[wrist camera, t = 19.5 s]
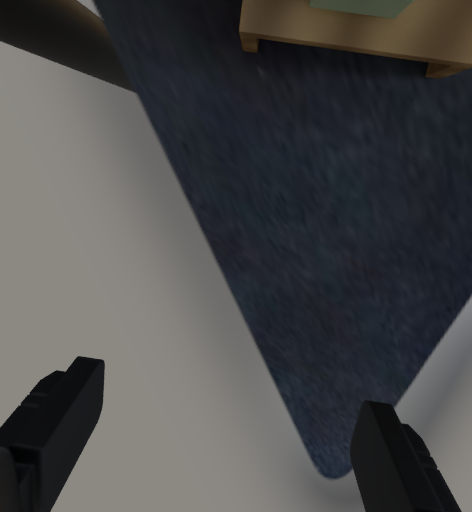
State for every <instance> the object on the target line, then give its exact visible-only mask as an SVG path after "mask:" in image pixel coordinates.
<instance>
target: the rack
mask: <svg viewBox="0 0 472 512" xmlns="http://www.w3.org/2000/svg"><path fill="white" fill-rule="evenodd" d="M239 34H240V39H241V44H242V48H243V51H246V52H253V53H257V52H258V45H259V39H266V40H273V41H280V42H288V43H295V44H302V45H309V46H316V47H323V48H330V49H337V50H344V51H351V52H358V53H365V54H372V55H379V56H386V57H393V58H401V59H408V60H415V61H422V62H429V64H428V68H427V72H426V76H425V77H429V78H436V79H440V78H443V77H446V76H449V75H452V74H455V73H458V72H460V71H463V70H466V69H469V68H472V0H414V1H413V2H412V3H411V4H410V5H409V6H408V7H406V8H405V9H404V10H403V11H402V12H401V13H400V14H399V15H398V16H397V17H396V18H394V19H392V18H385V17H378V16H371V15H363V14H356V13H349V12H342V11H335V10H328V9H320V8H313V7H309V0H243V2H242V9H241V17H240V25H239Z"/></svg>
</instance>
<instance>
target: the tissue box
mask: <svg viewBox="0 0 472 512" xmlns="http://www.w3.org/2000/svg"><path fill="white" fill-rule="evenodd" d="M413 1H414V0H309V7H313V8H320V9H328V10H335V11H342V12H349V13H356V14H363V15H371V16H378V17H385V18H392V19H394V18H396V17H397V16H398V15H399V14H400V13H401V12H402V11H403V10H404V9H405V8H406V7H408V6H409V5H410V4H411V3H412V2H413Z"/></svg>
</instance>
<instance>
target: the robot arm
mask: <svg viewBox="0 0 472 512" xmlns="http://www.w3.org/2000/svg"><path fill="white" fill-rule="evenodd" d="M104 369H105V364H104V361H103V360H101V359H94V358H87V357H81V356H78V357H77V358H76V359H75V360H74V362H73V363H72V364H71V365H70V367H69V368H68V369H67V371H66V372H64V371H57V370H56V371H54V372H53V373H51V374H50V375H48V376H46V377H45V378H43V379H42V380H40V381H39V382H38V384H37V385H36V386H35V387H34V388H33V389H32V391H31V392H30V394H29V395H27V397H26V398H25V399H24V400H23V401H22V402H21V405H20V406H18V407H17V408H16V410H15V411H14V412H13V413H12V414H11V416H10V417H9V418H8V419H7V420H6V422H5V423H4V424H3V425H2V426H1V427H0V512H50V511H51V509H52V507H53V506H54V504H55V502H56V500H57V498H58V496H59V494H60V492H61V490H62V488H63V487H64V485H65V483H66V481H67V479H68V477H69V475H70V473H71V471H72V469H73V468H74V466H75V464H76V462H77V460H78V458H79V456H80V454H81V453H82V451H83V449H84V447H85V445H86V443H87V441H88V439H89V437H90V435H91V434H92V432H93V430H94V428H95V426H96V424H97V422H98V420H99V417H100V414H101V410H102V405H103V390H104ZM350 457H351V463H352V466H353V470H354V473H355V476H356V480H357V483H358V487H359V490H360V493H361V497H362V500H363V504H364V508H365V511H366V512H461V510H460V508H459V506H458V504H457V502H456V501H455V499H454V497H453V495H452V493H451V491H450V489H449V488H448V486H447V484H446V482H445V480H444V478H443V476H442V475H441V473H440V471H439V470H437V465H436V464H435V462H434V460H433V458H432V457H430V453H429V451H428V449H427V447H426V445H425V443H424V441H423V440H422V438H421V437H420V436H419V435H418V434H417V433H416V432H415V431H414V430H413V429H412V428H411V427H410V426H409V425H408V424H402V423H401V422H400V420H399V418H398V416H397V414H396V412H395V410H394V408H393V406H392V405H391V404H386V403H380V402H373V401H367V400H366V401H364V402H363V404H362V406H361V409H360V412H359V416H358V419H357V422H356V426H355V429H354V432H353V436H352V439H351V444H350Z"/></svg>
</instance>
